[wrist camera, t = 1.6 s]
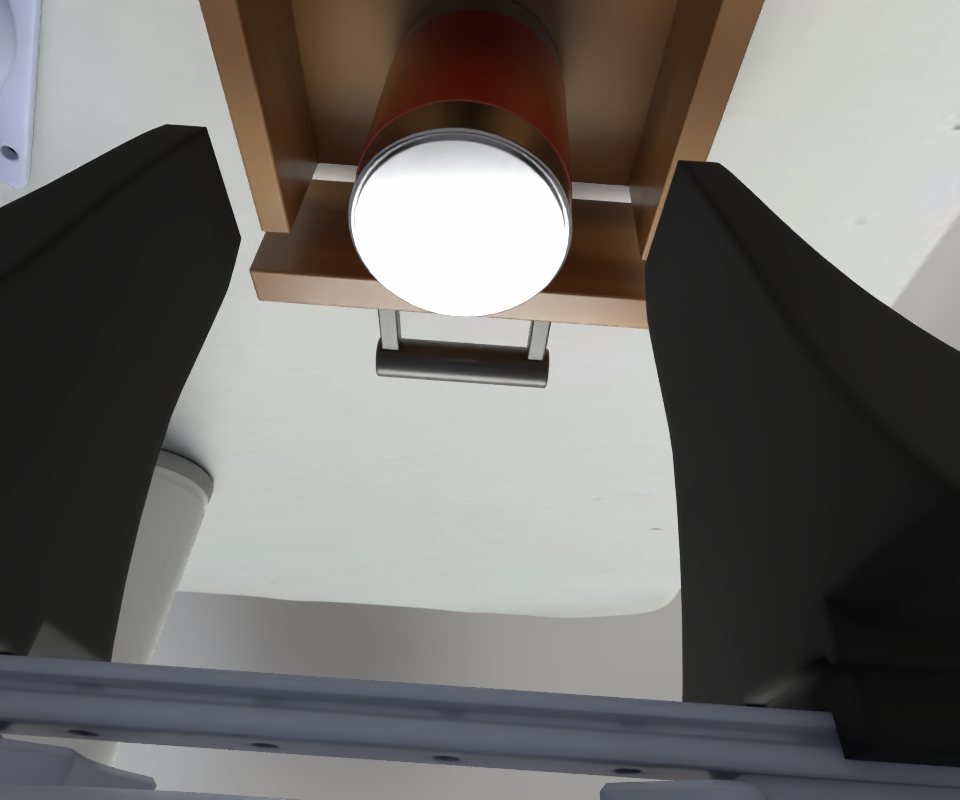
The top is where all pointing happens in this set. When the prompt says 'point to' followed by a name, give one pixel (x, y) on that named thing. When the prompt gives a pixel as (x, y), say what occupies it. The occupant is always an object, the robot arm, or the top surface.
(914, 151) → the top surface
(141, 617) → the travel mug
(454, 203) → the can
